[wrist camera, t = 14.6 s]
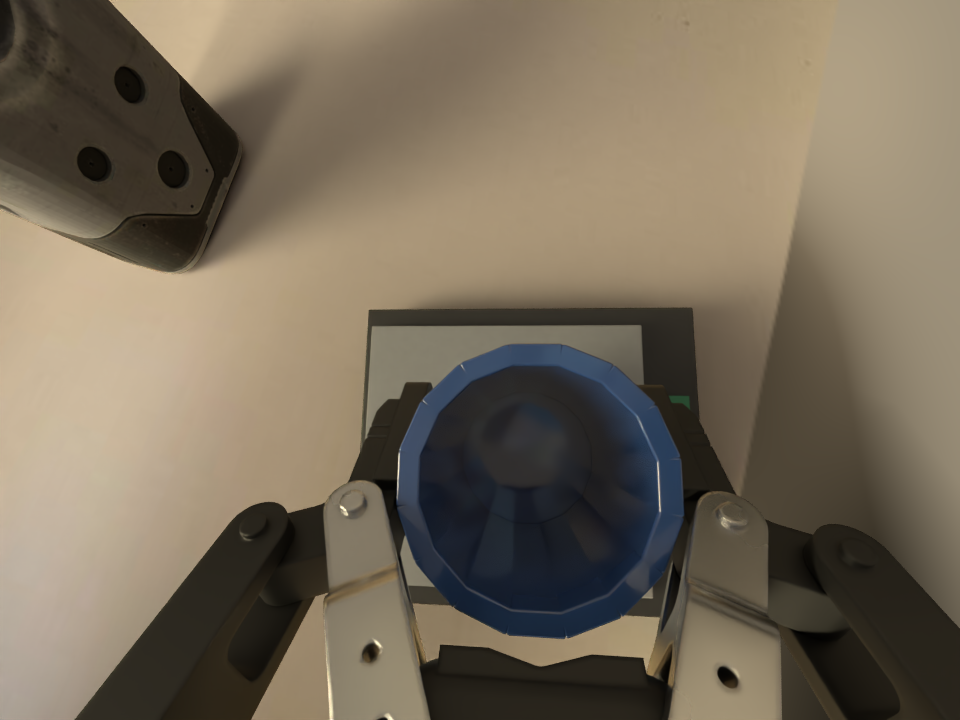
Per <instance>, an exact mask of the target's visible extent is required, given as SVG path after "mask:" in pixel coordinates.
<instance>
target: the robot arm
mask: <svg viewBox="0 0 960 720" xmlns="http://www.w3.org/2000/svg"><path fill="white" fill-rule="evenodd" d="M637 386H638V387H639V388H640V389H641V390H642V391H643V392H644V393H645V394H647V395H648V396H649V397H650V398H651V399H652V400H653V401H654V403H655V404H654V405H656V406H657V407H658V409H659V411H660V413H661V415H662V417H663V419H664V421H665V424H666V426H667V428H668V430H669V432H670V434H671V436H672V438H673V441H674V443H675V445H676V447H677V449H678V451H679V453H680V457H679V458H681V460H682V478H683V496H684V516H683V518H684V521H683V523H682V526H681V529H680V532H679V535H678V537H677V540H676V543H675V546H674V548H673V551H672V554H671V556H672V559H673V561H672V563H671V566H670V569H669V574H668V579H667V585H666V590H665V595H664V600H663V605H662V611H661V616H660V621H659V626H658V631H657V636H656V640H655V644H654V648H653V651H652V654H651V658H650V661H649V665H648V669H647V673H646V670H645V665H644V660H643V658H636V657H620V656H605V655H588V656H584V657H580V658H576V659H572V660H568V661H564V662H560V663H556V664H552V665H548V666H542V667H541V666H535V665H532V664H530V663H527V662H525V661H522V660H519V659H517V658H514V657H511V656H509V655H506V654H503V653H501V652H498V651H496V650H493V649H490V648H484V647H468V646H453V645H440V651H439V658H438V659H436V660H432V661H429V662H426V658H425V654H424V650H423V646H422V642H421V638H420V634H419V630H418V626H417V622H416V618H415V614H414V609H413V605H412V601H411V596H410V592H409V588H408V583H407V579H406V575H405V570H404V566H403V562H402V557H401V554H400V553H401V549H402V544H403V540H404V536H405V533H404V530H403V527H402V524H401V521H400V518H399V515H398V512H397V505H396V491H397V471H398V453H399V451H400V450H399V448H400V445H401V443H402V441H403V439H404V437H405V434H406V432H407V430H408V428H409V425H410V423H411V421H412V419H413V417H414V414H415V412H416V410H417V408H418V405H419V403H420V402H421V401H422V399H423V398H424V397H425V396H426V395H427V394H428V393H429V392H430V391H431V390H432V389H433V386H432V383H431V382H406V383H405V385H404V388H403V391H402V393H401V396H400V399H388V400H387V401H386V402H385V403H384V404H383V405H382V406H381V407H380V408H379V409H378V410H377V412H376V414H375V417H374V419H373V422H372V426H371V427H370V429H369V432H368V434H367V438H366V439H365V442H364V444H363V447H362V449H361V452H360V454H359V457H358V459H357V462H356V464H355V467H354V469H353V472H352V474H351V477H350V479H349V481H348V483H346V484H344V485H342V486H341V487H339V488H338V489H336V490H335V491H334V492H333V493H332V494H331V495H330V496H329V498H328V499H327V501H326V502H325V503H323V504H321V505H318V506H315V507H311V508H307V509H303V510H299V511H295V512H291V513H287V511H286V510H285V508H284V507H283V506H282V505H280V504H278V503H275V502H264V503H259V504H256V505H253V506H251V507H249V508H247V509H245V510H244V511H242V512H241V513H239V514H238V515H237V516H236V517H235V518H234V519H233V520H232V521H231V522H230V523H229V525H228V526H227V527H226V528H225V530H224V531H223V532H222V533H221V535H220V536H219V537H218V539H217V540H216V541H215V542H214V544H213V545H212V546H211V547H210V549H209V550H208V551H207V553H206V554H205V555H204V556H203V558H202V559H201V560H200V561H199V563H198V564H197V565H196V566H195V568H194V569H193V570H192V572H191V573H190V574H189V575H188V577H187V578H186V579H185V580H184V582H183V583H182V584H181V586H180V587H179V588H178V589H177V591H176V592H175V593H174V594H173V596H172V597H171V598H170V599H169V601H168V602H167V603H166V605H165V606H164V607H163V608H162V610H161V611H160V612H159V613H158V615H157V616H156V617H155V619H154V620H153V621H152V622H151V624H150V625H149V626H148V627H147V629H146V630H145V631H144V632H143V634H142V635H141V636H140V638H139V639H138V640H137V641H136V643H135V644H134V645H133V646H132V648H131V649H130V650H129V652H128V653H127V654H126V655H125V657H124V658H123V659H122V660H121V662H120V663H119V664H118V665H117V667H116V668H115V669H114V671H113V672H112V673H111V674H110V676H109V677H108V678H107V679H106V681H105V682H104V683H103V685H102V686H101V687H100V688H99V690H98V691H97V692H96V693H95V695H94V696H93V697H92V699H91V700H90V701H89V702H88V704H87V705H86V706H85V707H84V709H83V710H82V711H81V712H80V714H79V715H78V716H77V718H76V719H75V720H251V718H252V716H253V715H254V713H255V711H256V709H257V707H258V705H259V703H260V701H261V699H262V697H263V695H264V694H265V692H266V690H267V688H268V686H269V684H270V682H271V680H272V678H273V676H274V674H275V673H276V671H277V669H278V667H279V665H280V663H281V661H282V659H283V657H284V655H285V653H286V652H287V650H288V648H289V646H290V644H291V642H292V640H293V638H294V636H295V634H296V632H297V631H298V629H299V627H300V625H301V623H302V621H303V619H304V617H305V615H306V613H307V611H308V609H309V608H310V606H311V604H312V602H313V600H314V598H315V596H318V595H321V594H325V593H328V592H329V593H328V595H326V596H325V598H324V604H323V613H324V630H325V646H326V662H327V678H328V694H329V710H330V720H782V701H781V642H780V636H781V638H782V639H783V641H784V643H785V644H786V646H787V647H788V649H789V651H790V653H791V654H792V656H793V658H794V659H795V661H796V663H797V664H798V666H799V668H800V670H801V671H802V673H803V675H804V676H805V678H806V680H807V681H808V683H809V685H810V686H811V688H812V690H813V691H814V693H815V695H816V696H817V698H818V700H819V701H820V703H821V705H822V706H823V708H824V710H825V711H826V713H827V715H828V717H829V718H830V720H960V628H959V627H958V626H957V625H956V624H955V623H954V622H953V621H952V620H951V619H950V618H949V617H948V616H947V614H946V613H945V612H944V611H943V610H942V609H941V608H940V607H939V606H938V605H937V604H936V602H935V601H934V600H933V599H932V598H931V597H930V596H929V595H928V594H927V593H926V592H925V591H924V589H923V588H922V587H921V586H920V585H919V584H918V583H917V582H916V581H915V580H914V579H913V577H912V576H911V575H910V574H909V573H908V572H907V571H906V570H905V569H904V568H903V567H902V566H901V564H900V563H899V562H898V561H897V560H896V559H895V558H894V557H893V556H892V555H891V554H890V552H889V551H888V550H887V549H886V548H885V547H884V546H882V545H881V544H880V543H879V542H877V541H876V540H875V539H873V538H872V537H870V536H868V535H866V534H865V533H863V532H861V531H859V530H856V529H854V528H851V527H848V526H844V525H838V524H828V525H824V526H821V527H820V528H819V529H817V530H816V531H815V533H814V534H813V535H812V534H808V533H805V532H801V531H798V530H795V529H792V528H787V527H784V526H781V525H778V524H775V523H772V522H770V521H768V520H766V519H764V517H763V515H762V514H761V513H760V512H759V510H758V509H757V508H756V507H755V506H753V505H752V504H751V503H749V502H748V501H747V500H745V499H743V498H741V497H739V496H737V495H736V493H735V492H734V490H733V488H732V486H731V484H730V482H729V480H728V478H727V476H726V474H725V472H724V470H723V468H722V466H721V464H720V462H719V460H718V458H717V456H716V454H715V452H714V450H713V448H712V446H710V442H709V440H708V438H707V436H706V434H704V429H703V427H702V425H701V423H700V421H699V419H698V417H697V416H696V415H695V414H694V413H693V412H692V411H691V410H690V409H689V408H687V407H686V406H685V405H684V404H683V403H671V400H670V398H669V396H668V394H667V391H666V389H665V387H664V386H663V385H637Z"/></svg>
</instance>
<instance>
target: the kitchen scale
mask: <svg viewBox="0 0 960 720" xmlns="http://www.w3.org/2000/svg"><path fill="white" fill-rule="evenodd" d="M511 343H560V344H562V345H568V346H570V347H573V348H575V349H578V350H580V351H583V352H585V353H588V354H590V355H593V356H595V357H598V358H600V359H603V360H605V361H608V362H610V363H612V364H613V366H614V365H615V366H617V367H618V368H619V369H620V370H621V371H622V372H623V373H624V374H625V375H626V376H627V377H628V378H630V379H631V380H632V381H633V382H634V383H635V384H636V385H663V386H664V387H665V389H666V391H667V394H668V396H669V398H670V400H671V403H683V404H684V405H685V406H686V407H687V408H689V409H690V410H691V411H692V412H693V413H694V414H695V415H696V416H697V417H698V419H699V406H698V390H697V374H696V358H695V342H694V326H693V311H692V308H567V309H420V310H369V317H368V333H367V350H366V366H365V383H364V399H363V415H362V432H361V448H360V452H361V449H362V447H363V444H364V442H365V439H366V438H367V434H368V432H369V429H370V427H371V426H372V422H373V419H374V417H375V414H376V412H377V410H378V409H379V408H380V407H381V406H382V405H383V404H384V403H385V402H386V401H387V400H388V399H400V396H401V393H402V391H403V388H404V385H405V383H406V382H431V383H432V386H433V388H434V387H435V386H436V385H437V384H438V383H439V382H440V381H441V380H442V379H443V378H445V377H446V376H447V375H448V374H449V373H450V372H451V371H452V370H453V369H454V368H455V367H456V366H457V365H459V364H461V363H462V362H463V361H466V360H468V359H471V358H473V357H476V356H478V355H481V354H483V353H486V352H488V351H491V350H493V349H496V348H498V347H501V346H503V345H506V344H508V345H509V344H511ZM400 554H401V557H402V562H403V566H404V570H405V575H406V579H407V583H408V588H409V592H410V596H411V601H412V603H419V604H436V605H450V604H449V603H448V602H447V600H446V599H445V598H444V597H443V596H442V595H441V593H440V592H439V591H438V590H437V589H436V587H435V586H434V585H433V584H432V583H431V582H430V580H429V579H428V578H427V577H426V576H425V574H424V573H423V572H422V571H421V570H420V568H419V567H418V566H417V565H416V563H415V561H414V559H413V557H412V554H411V551H410V548H409V545H408V542H407V539H406V536H404V540H403V544H402V549H401V553H400ZM672 561H673V559H672V556H671V557H670V559H669V562H668V565H667V568H666V570H665V572H664V573H663V576H662V577H661V578H660V579H659V580H658V581H657V582H656V584H655V585H654V586H653V587H652V588H651V589H650V590H649V591H648V592H647V593H646V594H645V595H644V596H643V597H642V598H641V599H640V600H639V601H638V602H637V603H636V604H635V605H634V606H633V607H632V608H631V609H630V610H629V611H628V612H627V614H626V615H628V616H645V617H660V616H661V611H662V605H663V600H664V595H665V590H666V585H667V579H668V574H669V569H670V566H671V563H672Z"/></svg>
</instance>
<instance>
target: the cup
mask: <svg viewBox="0 0 960 720" xmlns="http://www.w3.org/2000/svg"><path fill="white" fill-rule="evenodd" d="M654 404H655V403H654V401H653V400H652V399H651V398H650V397H649V396H648V395H647V394H645V393H644V392H643V391H642V390H641V389H640V388H639V387H638V386H637V385H636V384H635V383H634V382H633V381H632V380H631V379H630V378H628V377H627V376H626V375H625V374H624V373H623V372H622V371H621V370H620V369H619V368H618V367H617V366H615V365H614V366H613V364H612V363H610V362H608V361H605V360H603V359H600V358H598V357H595V356H593V355H590V354H588V353H585V352H583V351H580V350H578V349H575V348H573V347H570V346H568V345H562V344H560V343H511V344H509V345H508V344H506V345H503V346H501V347H498V348H496V349H493V350H491V351H488V352H486V353H483V354H481V355H478V356H476V357H473V358H471V359H468V360H466V361H463V362H462V363H461V364H459V365H457V366H456V367H455V368H454V369H453V370H452V371H451V372H450V373H449V374H448V375H447V376H446V377H445V378H443V379H442V380H441V381H440V382H439V383H438V384H437V385H436V386H435V387H434V388H433V389H432V390H431V391H430V392H429V393H428V394H427V395H426V396H425V397H424V398H423V399H422V401H421V402H420V403H419V405H418V408H417V410H416V412H415V414H414V417H413V419H412V421H411V423H410V425H409V428H408V430H407V432H406V434H405V437H404V439H403V441H402V443H401V445H400V448H399V450H400V451H399V453H398V471H397V491H396V505H397V512H398V515H399V518H400V521H401V524H402V527H403V530H404V533H405V536H406V539H407V542H408V545H409V548H410V551H411V554H412V557H413V559H414V561H415V563H416V565H417V566H418V567H419V568H420V570H421V571H422V572H423V573H424V574H425V576H426V577H427V578H428V579H429V580H430V582H431V583H432V584H433V585H434V586H435V587H436V589H437V590H438V591H439V592H440V593H441V595H442V596H443V597H444V598H445V599H446V600H447V602H448V603H449V604H450V605H451V606H452V607H453V606H454V608H455V609H456V610H458V611H460V612H462V613H464V614H466V615H468V616H470V617H472V618H474V619H476V620H478V621H480V622H482V623H484V624H485V625H487V626H489V627H491V628H493V629H495V630H497V631H499V632H501V633H503V634H506V633H507V635H509V636H525V637H541V638H556V639H565V637H567V638H571V637H573V636H576V635H578V634H581V633H584V632H586V631H589V630H591V629H594V628H597V627H599V626H602V625H604V624H607V623H610V622H612V621H615V620H617V619H620V618H621V616H625V615H626V614H627V612H628V611H629V610H630V609H631V608H632V607H633V606H634V605H635V604H636V603H637V602H638V601H639V600H640V599H641V598H642V597H643V596H644V595H645V594H646V593H647V592H648V591H649V590H650V589H651V588H652V587H653V586H654V585H655V584H656V582H657V581H658V580H659V579H660V578H661V577H662V576H663V573H664V572H665V570H666V568H667V565H668V562H669V559H670V557H671V554H672V551H673V548H674V546H675V543H676V540H677V537H678V535H679V532H680V529H681V526H682V523H683V521H684V518H683V516H684V496H683V478H682V460H681V458H679V457H680V453H679V451H678V449H677V447H676V445H675V443H674V441H673V438H672V436H671V434H670V432H669V430H668V428H667V426H666V424H665V421H664V419H663V417H662V415H661V413H660V411H659V409H658V407H657V406H656V405H654Z"/></svg>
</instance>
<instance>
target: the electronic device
mask: <svg viewBox="0 0 960 720" xmlns="http://www.w3.org/2000/svg"><path fill="white" fill-rule="evenodd" d="M241 154H242V142H241V140H240V137H239V136H238V135H237V133H236V132H235V131H234V130H233V129H232V128H231V127H230V126H229V125H228V124H227V123H226V122H225V121H224V120H223V119H222V118H221V117H220V116H219V115H218V114H217V113H216V112H215V111H214V109H213V108H212V107H211V106H210V105H209V104H208V103H207V102H206V101H205V100H204V99H203V98H202V97H201V96H200V95H199V94H198V93H197V92H196V91H195V90H194V89H193V88H192V87H191V86H190V85H189V84H188V82H187V81H186V80H185V79H184V78H183V77H182V76H181V75H180V74H179V73H178V72H177V71H176V70H175V69H174V68H173V67H172V66H171V65H170V64H169V63H168V62H167V61H166V60H165V59H164V57H163V56H162V55H161V54H160V53H159V52H158V51H157V50H156V49H155V48H154V47H153V46H152V45H151V44H150V43H149V42H148V41H147V40H146V39H145V38H144V37H143V36H142V35H141V34H140V33H139V31H138V30H137V29H136V28H135V27H134V26H133V25H132V24H131V23H130V22H129V21H128V20H127V19H126V18H125V17H124V16H123V15H122V14H121V13H120V12H119V11H118V10H117V9H116V8H115V7H114V5H113V4H112V3H111V2H110V1H109V0H0V210H2V211H4V212H7V213H9V214H12V215H14V216H16V217H19V218H21V219H24V220H26V221H28V222H31V223H33V224H36V225H38V226H41V227H43V228H45V229H48V230H50V231H52V232H55V233H57V234H59V235H61V236H64V237H66V238H69V239H71V240H73V241H76V242H78V243H81V244H83V245H85V246H88V247H90V248H93V249H95V250H98V251H100V252H102V253H105V254H107V255H110V256H112V257H115V258H117V259H120V260H122V261H125V262H127V263H130V264H133V265H137V266H141V267H144V268H148V269H151V270H155V271H158V272H162V273H167V274H180V273H183V272H185V271H187V270H189V269H190V268H192V267H193V266H194V265H195V264H196V263H197V261H198V260H199V259H200V257H201V255H202V253H203V252H204V249H205V247H206V244H207V242H208V239H209V237H210V234H211V232H212V229H213V227H214V224H215V222H216V219H217V217H218V214H219V212H220V209H221V207H222V204H223V202H224V199H225V197H226V194H227V192H228V189H229V187H230V184H231V182H232V179H233V177H234V174H235V172H236V169H237V167H238V164H239V161H240V158H241Z"/></svg>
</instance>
